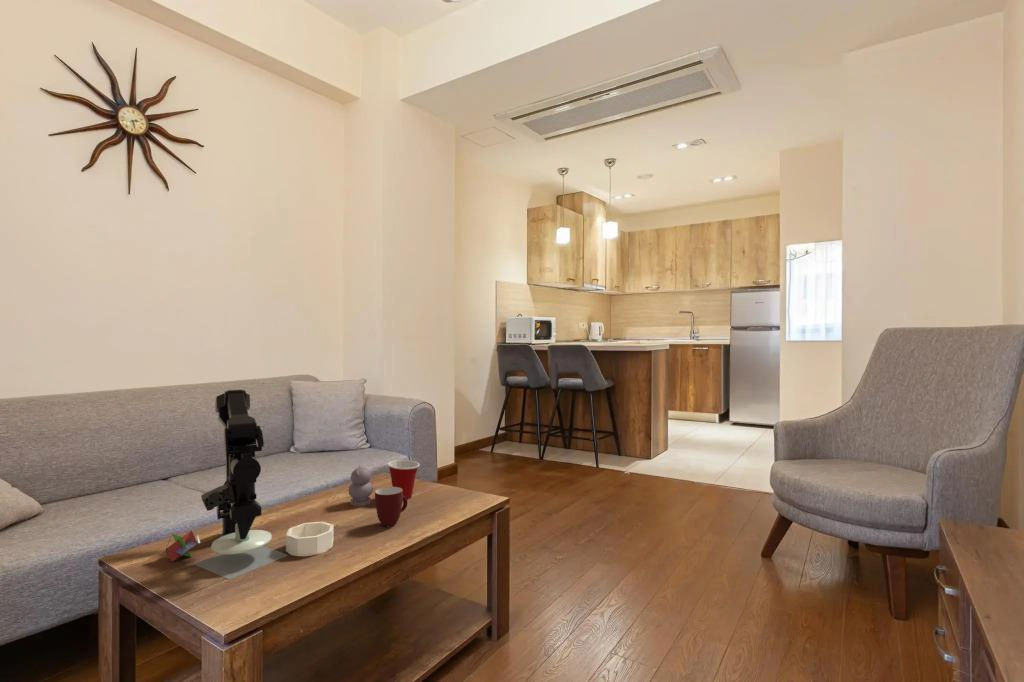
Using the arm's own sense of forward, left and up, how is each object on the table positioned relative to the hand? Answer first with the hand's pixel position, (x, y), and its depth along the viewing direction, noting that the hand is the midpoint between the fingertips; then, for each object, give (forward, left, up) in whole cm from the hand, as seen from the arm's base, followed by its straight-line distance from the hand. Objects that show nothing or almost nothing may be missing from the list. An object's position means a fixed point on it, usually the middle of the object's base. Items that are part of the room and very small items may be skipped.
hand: (242, 536), depth 124 cm
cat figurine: (-9, +46, -6) cm, 47 cm away
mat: (0, 0, -6) cm, 6 cm away
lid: (0, 0, -2) cm, 2 cm away
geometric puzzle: (-14, -7, -6) cm, 17 cm away
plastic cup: (-1, +58, -6) cm, 58 cm away
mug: (+13, +38, -6) cm, 41 cm away
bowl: (+8, +14, -6) cm, 17 cm away
